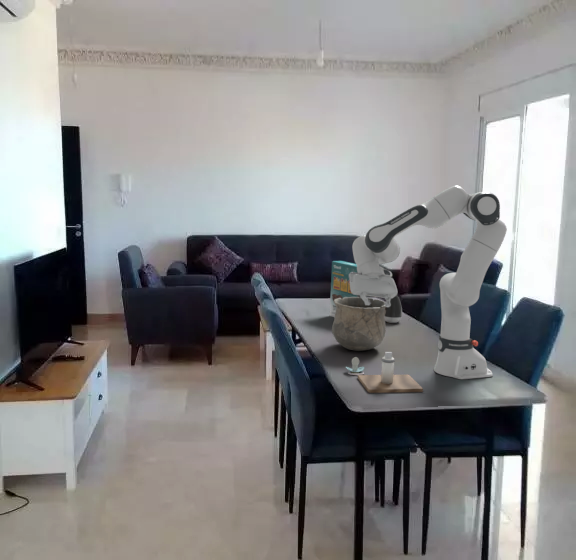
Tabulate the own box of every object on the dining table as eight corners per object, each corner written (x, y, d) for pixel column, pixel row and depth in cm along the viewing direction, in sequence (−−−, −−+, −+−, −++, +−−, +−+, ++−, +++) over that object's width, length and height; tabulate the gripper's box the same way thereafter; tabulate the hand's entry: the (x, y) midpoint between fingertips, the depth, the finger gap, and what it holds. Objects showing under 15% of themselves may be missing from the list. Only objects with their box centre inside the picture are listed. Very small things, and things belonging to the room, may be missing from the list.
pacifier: (366, 376, 240) (362, 371, 245) (367, 360, 238) (363, 355, 244) (347, 376, 239) (344, 371, 245) (348, 361, 237) (345, 355, 243)
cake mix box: (364, 323, 325) (367, 266, 320) (355, 324, 322) (358, 267, 317) (338, 314, 343) (340, 260, 338) (329, 315, 340) (332, 261, 335)
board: (408, 377, 239) (408, 374, 239) (422, 391, 223) (423, 388, 223) (357, 378, 236) (357, 375, 236) (368, 392, 221) (368, 389, 220)
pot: (390, 357, 265) (393, 308, 262) (335, 356, 263) (337, 307, 260) (377, 341, 290) (380, 296, 286) (327, 340, 288) (329, 295, 284)
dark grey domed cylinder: (377, 321, 331) (379, 293, 328) (391, 318, 337) (393, 291, 334) (391, 325, 323) (393, 296, 320) (405, 322, 329) (407, 294, 326)
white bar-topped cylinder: (391, 379, 232) (392, 350, 230) (394, 383, 228) (396, 354, 226) (379, 379, 231) (380, 350, 229) (382, 383, 227) (384, 354, 225)
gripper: (352, 267, 235) (360, 299, 229) (395, 272, 245) (404, 303, 238) (343, 275, 240) (351, 307, 233) (385, 280, 250) (394, 311, 243)
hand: (378, 305), depth 236 cm, fingers open, 8 cm apart
